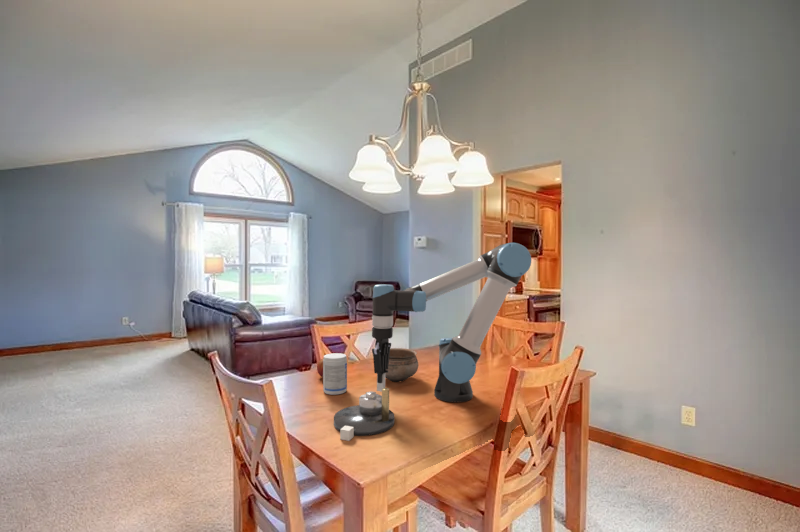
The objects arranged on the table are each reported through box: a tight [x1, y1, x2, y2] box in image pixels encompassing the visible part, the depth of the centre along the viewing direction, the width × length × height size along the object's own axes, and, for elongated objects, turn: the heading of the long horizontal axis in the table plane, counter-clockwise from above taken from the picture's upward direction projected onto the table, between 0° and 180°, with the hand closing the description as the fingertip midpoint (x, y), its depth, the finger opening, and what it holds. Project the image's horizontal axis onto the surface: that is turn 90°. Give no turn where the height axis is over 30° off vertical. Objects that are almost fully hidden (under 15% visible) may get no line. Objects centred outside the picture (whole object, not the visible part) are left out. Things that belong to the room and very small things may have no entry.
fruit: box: [316, 357, 324, 378], centre depth 180 cm, size 11×10×10 cm
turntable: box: [333, 387, 395, 437], centre depth 132 cm, size 20×20×12 cm
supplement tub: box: [322, 352, 348, 396], centre depth 162 cm, size 10×10×15 cm
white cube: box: [339, 426, 355, 442], centre depth 121 cm, size 3×3×3 cm
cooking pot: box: [385, 347, 419, 383], centre depth 178 cm, size 25×19×12 cm
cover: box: [358, 390, 382, 415], centre depth 137 cm, size 8×8×6 cm
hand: (380, 390), depth 146 cm, fingers closed
